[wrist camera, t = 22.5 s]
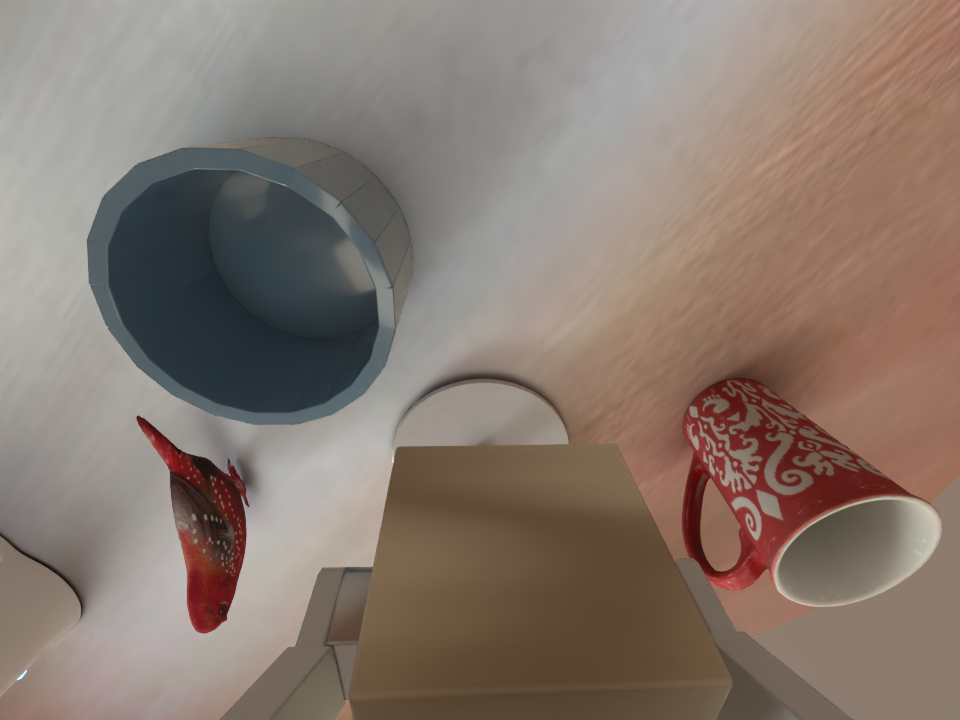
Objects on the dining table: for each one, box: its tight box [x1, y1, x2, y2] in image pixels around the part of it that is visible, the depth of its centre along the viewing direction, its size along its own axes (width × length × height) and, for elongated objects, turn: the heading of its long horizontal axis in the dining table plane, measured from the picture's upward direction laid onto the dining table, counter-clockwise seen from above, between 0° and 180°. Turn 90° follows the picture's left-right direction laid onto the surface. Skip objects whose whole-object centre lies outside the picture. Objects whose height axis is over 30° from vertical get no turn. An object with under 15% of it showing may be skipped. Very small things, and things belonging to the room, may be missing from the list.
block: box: [348, 444, 733, 720], centre depth 9 cm, size 5×5×5 cm
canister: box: [87, 138, 413, 425], centre depth 25 cm, size 13×13×10 cm
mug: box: [682, 379, 942, 607], centre depth 31 cm, size 13×9×14 cm
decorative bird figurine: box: [137, 416, 249, 633], centre depth 32 cm, size 3×18×10 cm, turn 4°
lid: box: [392, 379, 569, 462], centre depth 35 cm, size 14×14×5 cm
